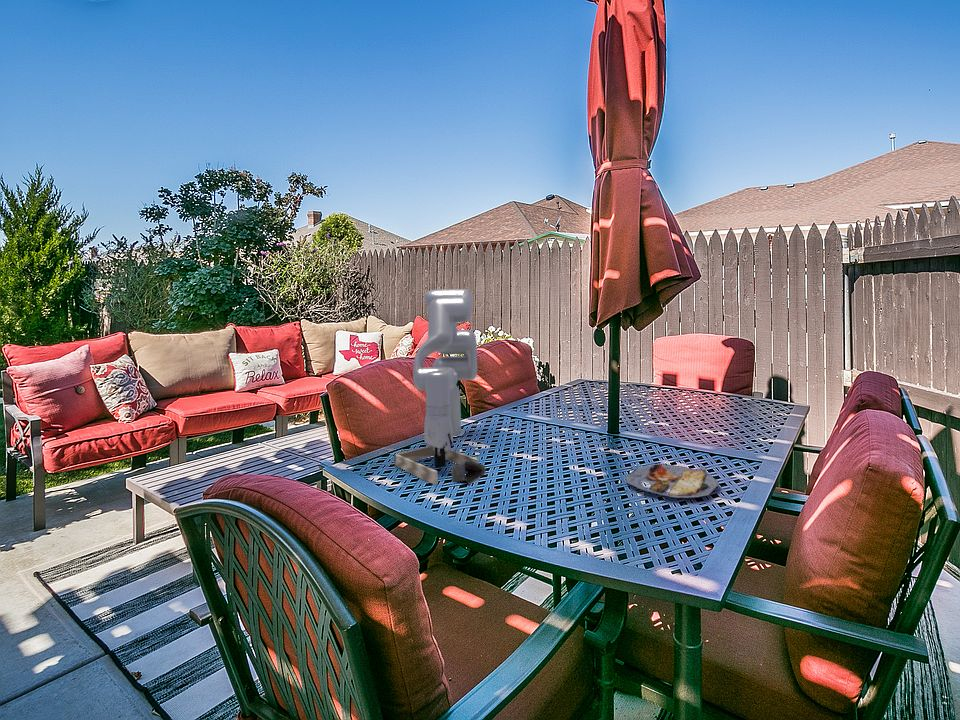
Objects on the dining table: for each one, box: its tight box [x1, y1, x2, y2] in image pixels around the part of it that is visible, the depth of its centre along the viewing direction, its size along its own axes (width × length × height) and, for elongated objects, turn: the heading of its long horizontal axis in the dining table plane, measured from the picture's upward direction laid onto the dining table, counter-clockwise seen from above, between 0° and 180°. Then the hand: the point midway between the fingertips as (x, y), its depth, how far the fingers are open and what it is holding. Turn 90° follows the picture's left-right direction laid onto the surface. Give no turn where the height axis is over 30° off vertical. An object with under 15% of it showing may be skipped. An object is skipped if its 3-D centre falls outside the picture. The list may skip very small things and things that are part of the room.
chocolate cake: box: [450, 459, 487, 485], centre depth 155 cm, size 10×7×12 cm
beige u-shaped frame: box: [393, 445, 480, 486], centre depth 164 cm, size 23×17×4 cm
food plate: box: [625, 462, 720, 500], centre depth 145 cm, size 25×23×4 cm
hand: (440, 466), depth 162 cm, fingers closed
